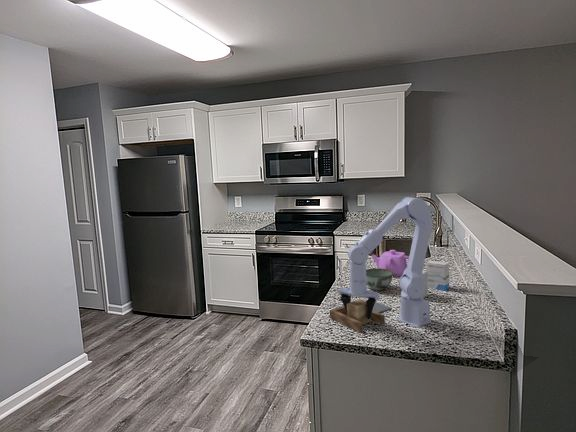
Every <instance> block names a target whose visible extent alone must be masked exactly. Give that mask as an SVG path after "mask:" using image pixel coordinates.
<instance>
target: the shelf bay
mask: <svg viewBox="0 0 576 432" xmlns="http://www.w3.org/2000/svg"><path fill="white" fill-rule="evenodd" d="M385 317H386V316H385V314H383V313H378V312H375V311H373V310H372V314H371V321H373V322H375V323H377V324H380V325H384V324H385V323H386V322H385V321H386V320H385ZM329 319H331V320H333V321H335V322H336V323H339V324H342V325H343V326H345V327H348V328H349V329H351V330H354V331H356V332H358V333H363V332H364V324H363V323H362V322H360V321H358V320H355V319H353V318H351V317H349V316H347V313H346V310H345V307H344V305H343V306H339V307H336V308H334V309H330V310H329Z"/></svg>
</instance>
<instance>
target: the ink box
mask: <svg viewBox="0 0 576 432" xmlns="http://www.w3.org/2000/svg"><path fill="white" fill-rule="evenodd" d="M425 264H426V265H425V266H426V268H425V269H426V270H425V271H428V288H429V289H434V290H440V291H443V292H444V291H445V292H446V291H447V290H449V289H450V263H449V262H446V261H445V262H443V261H435V260H429V261H428V262H426V263H425Z"/></svg>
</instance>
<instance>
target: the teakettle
mask: <svg viewBox="0 0 576 432" xmlns="http://www.w3.org/2000/svg"><path fill="white" fill-rule="evenodd" d="M371 258H372V259H373V260H374V262H375V264H376V265H377V268H381V269H387V270H391V271H392V272H393V276H392V277H402V275H403V272H404V270H405V269H406V268H407V265H408V260H409V255H406V253H405V252H402V251H397V250H396V249H390V250H389V251H384V252H383V253H381V255H380V257H378V256H377V255H376V254H371Z"/></svg>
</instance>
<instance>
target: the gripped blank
mask: <svg viewBox="0 0 576 432" xmlns="http://www.w3.org/2000/svg"><path fill="white" fill-rule="evenodd" d="M366 301H367V300H365V299H362V298H359V299H355V300H353V301H351V302H350V303H347V315H346V316H349V317H351V318H353V319H355V320H358V321H360V322H362V323H363V325H365V324H367V323H369V322H370V323H371V321H372V320H371V318H370V319H367V304H366Z"/></svg>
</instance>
